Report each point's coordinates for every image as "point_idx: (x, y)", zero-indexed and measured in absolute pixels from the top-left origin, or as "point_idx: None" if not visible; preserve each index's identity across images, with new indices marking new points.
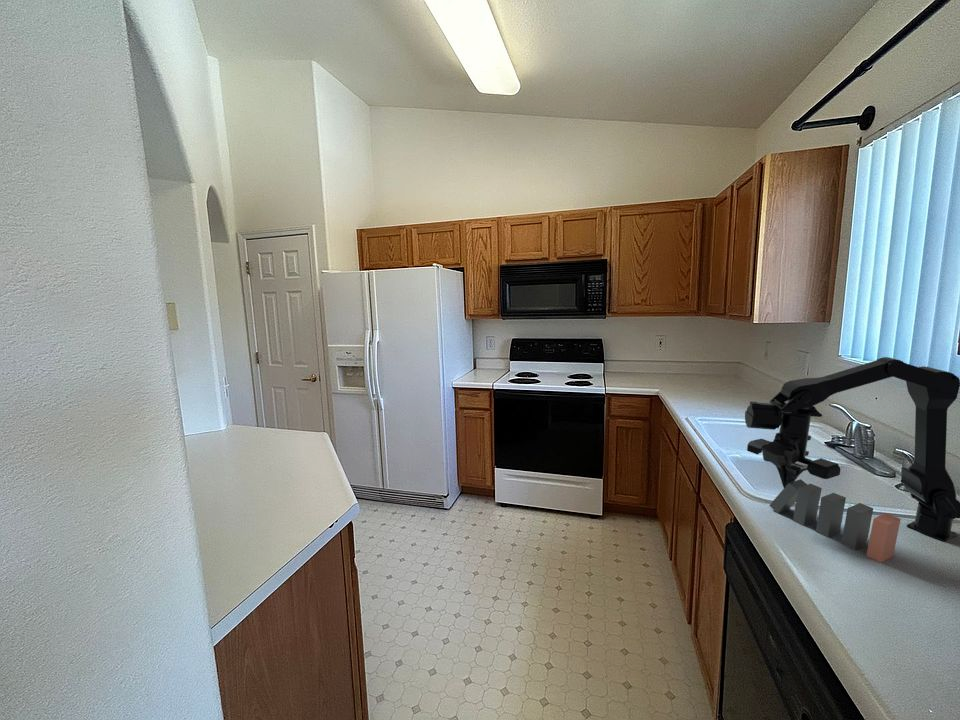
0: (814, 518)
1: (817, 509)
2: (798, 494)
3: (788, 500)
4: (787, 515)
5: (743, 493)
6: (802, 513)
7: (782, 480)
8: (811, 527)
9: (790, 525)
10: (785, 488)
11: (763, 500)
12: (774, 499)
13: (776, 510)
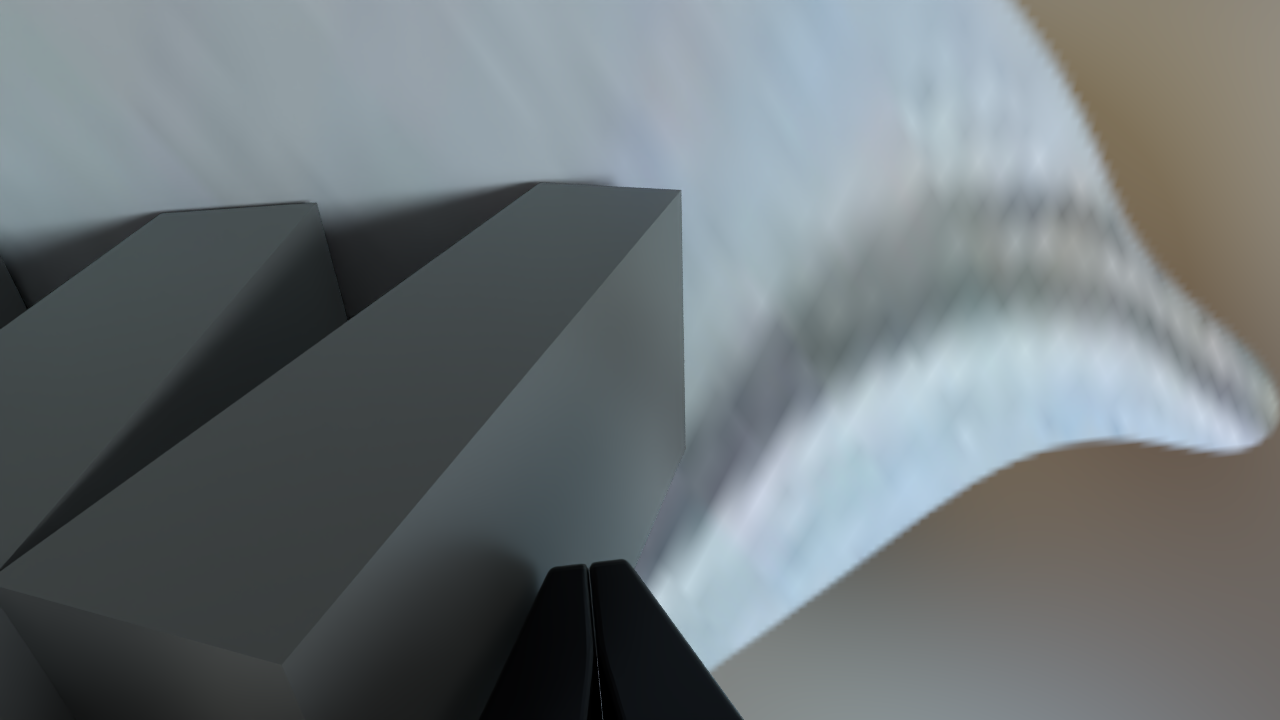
0: None
1: None
2: (35, 501)
3: (358, 322)
4: None
5: (1088, 250)
6: (114, 287)
7: (676, 688)
8: None
9: (215, 37)
10: (417, 466)
11: (847, 332)
12: (630, 250)
13: (559, 190)
